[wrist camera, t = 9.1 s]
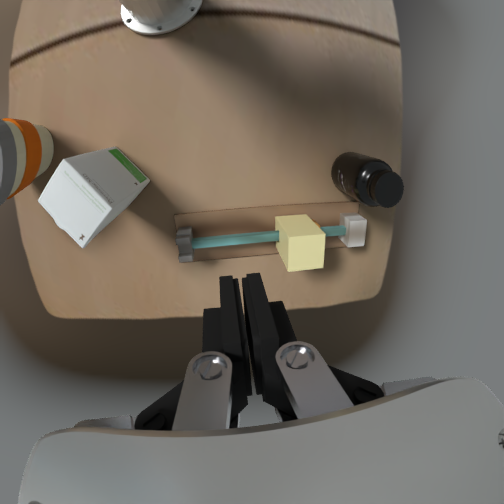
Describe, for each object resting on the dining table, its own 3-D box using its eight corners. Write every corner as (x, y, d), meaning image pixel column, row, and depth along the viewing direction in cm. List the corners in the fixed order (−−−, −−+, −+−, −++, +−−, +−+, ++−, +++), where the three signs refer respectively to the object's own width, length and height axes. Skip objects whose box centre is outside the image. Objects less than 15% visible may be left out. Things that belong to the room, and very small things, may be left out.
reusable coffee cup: (72, 163, 35) (16, 183, 21) (26, 198, 35) (-26, 229, 22) (48, 100, 29) (-10, 98, 16) (4, 141, 30) (-51, 156, 16)
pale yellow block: (275, 216, 42) (288, 237, 35) (306, 214, 43) (325, 234, 35) (275, 246, 44) (288, 271, 37) (305, 243, 45) (323, 267, 37)
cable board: (174, 214, 41) (169, 224, 37) (358, 201, 44) (371, 209, 39) (181, 261, 44) (178, 275, 40) (354, 244, 47) (366, 256, 43)
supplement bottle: (321, 177, 41) (357, 196, 30) (344, 143, 39) (386, 151, 28) (352, 200, 43) (391, 224, 33) (373, 168, 41) (417, 183, 31)
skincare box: (151, 180, 38) (117, 210, 24) (124, 210, 40) (84, 253, 26) (114, 144, 35) (63, 155, 21) (89, 175, 36) (34, 202, 22)
